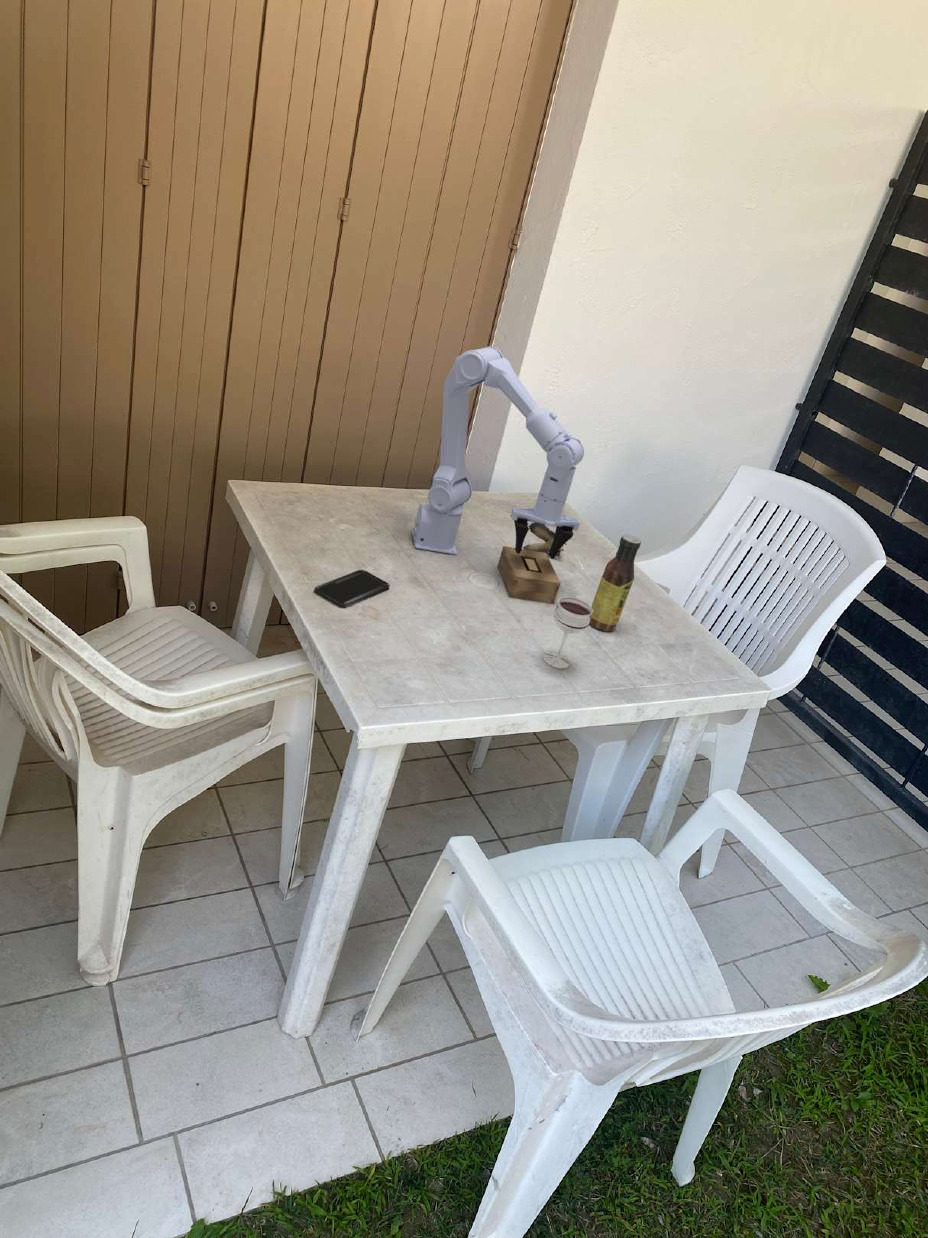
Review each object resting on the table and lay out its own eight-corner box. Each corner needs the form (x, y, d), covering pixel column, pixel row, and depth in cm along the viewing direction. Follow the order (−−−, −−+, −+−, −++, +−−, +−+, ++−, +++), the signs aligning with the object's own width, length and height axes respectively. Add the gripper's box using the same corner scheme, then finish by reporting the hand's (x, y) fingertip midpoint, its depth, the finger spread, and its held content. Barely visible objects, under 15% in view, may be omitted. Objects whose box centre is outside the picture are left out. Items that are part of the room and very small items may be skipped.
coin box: (508, 597, 194) (515, 576, 191) (497, 566, 205) (503, 545, 203) (553, 603, 196) (560, 583, 194) (539, 572, 208) (546, 553, 205)
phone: (392, 585, 184) (343, 606, 172) (390, 590, 184) (342, 611, 172) (361, 568, 187) (311, 587, 175) (360, 573, 187) (310, 592, 175)
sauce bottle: (614, 636, 190) (646, 550, 181) (585, 626, 190) (616, 540, 181) (616, 622, 196) (647, 538, 186) (587, 613, 196) (617, 528, 187)
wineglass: (544, 646, 179) (563, 593, 173) (577, 660, 177) (597, 606, 172) (534, 661, 173) (553, 606, 167) (568, 675, 172) (588, 620, 166)
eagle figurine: (558, 542, 223) (524, 528, 221) (572, 528, 217) (538, 513, 215) (553, 568, 219) (519, 554, 217) (567, 554, 213) (532, 540, 211)
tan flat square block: (523, 589, 198) (529, 569, 196) (518, 578, 203) (524, 558, 200) (531, 591, 199) (538, 570, 197) (527, 580, 203) (533, 559, 201)
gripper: (523, 497, 186) (505, 557, 192) (590, 509, 189) (570, 568, 196) (516, 483, 192) (499, 542, 198) (581, 495, 195) (563, 553, 202)
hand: (534, 554), depth 197 cm, fingers open, 7 cm apart
